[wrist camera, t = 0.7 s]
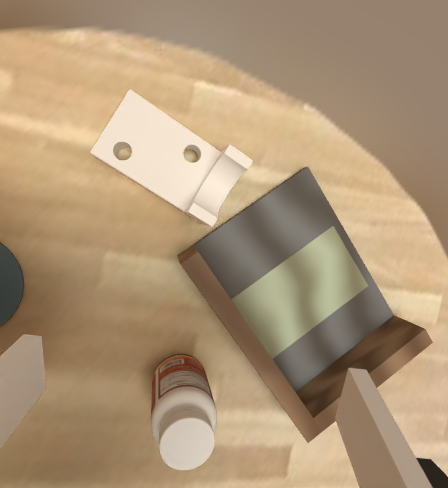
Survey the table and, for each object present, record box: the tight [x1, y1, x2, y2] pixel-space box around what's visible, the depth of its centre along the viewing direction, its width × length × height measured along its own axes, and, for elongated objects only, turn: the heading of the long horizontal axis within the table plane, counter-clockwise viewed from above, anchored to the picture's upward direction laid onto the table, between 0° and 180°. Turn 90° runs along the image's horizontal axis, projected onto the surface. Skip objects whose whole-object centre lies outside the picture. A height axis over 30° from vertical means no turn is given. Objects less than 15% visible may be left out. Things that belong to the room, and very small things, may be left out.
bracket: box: [90, 90, 253, 227], centre depth 32 cm, size 13×7×8 cm, turn 58°
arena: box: [178, 167, 433, 443], centre depth 37 cm, size 18×24×6 cm
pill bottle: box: [151, 355, 217, 470], centre depth 32 cm, size 6×6×11 cm
